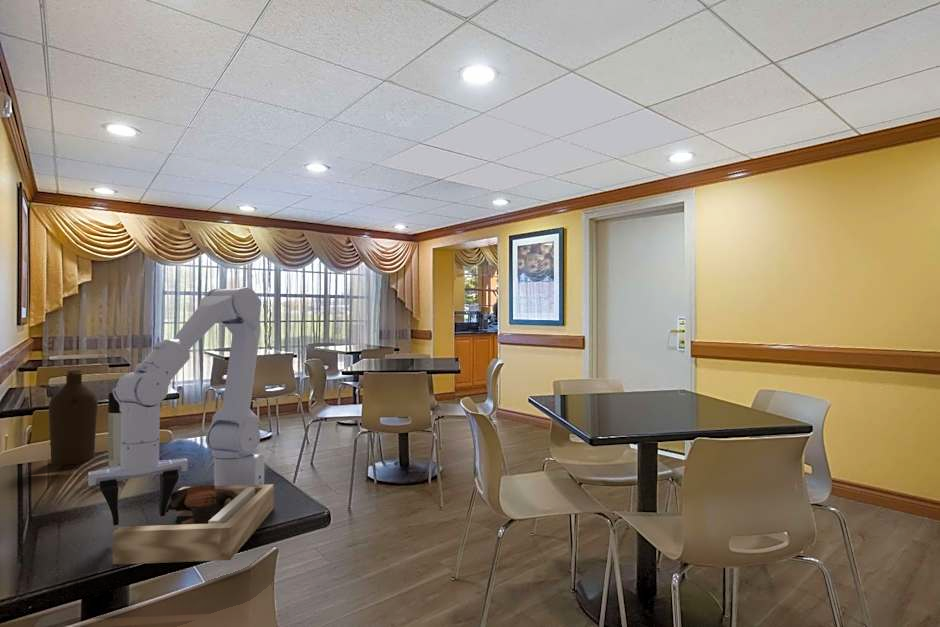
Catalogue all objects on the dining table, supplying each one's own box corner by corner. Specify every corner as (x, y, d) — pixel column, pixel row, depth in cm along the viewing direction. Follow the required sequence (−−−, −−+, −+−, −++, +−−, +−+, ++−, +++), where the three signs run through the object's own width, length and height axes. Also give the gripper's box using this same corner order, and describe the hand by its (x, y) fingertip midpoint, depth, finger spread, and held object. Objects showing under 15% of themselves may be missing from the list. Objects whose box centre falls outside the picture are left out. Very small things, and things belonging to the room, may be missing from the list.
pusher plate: (255, 512, 99) (255, 486, 99) (218, 552, 82) (218, 520, 82) (247, 513, 99) (247, 487, 99) (208, 552, 82) (208, 520, 82)
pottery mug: (162, 541, 86) (159, 492, 90) (176, 546, 94) (173, 501, 98) (239, 518, 91) (233, 473, 94) (246, 526, 99) (240, 483, 102)
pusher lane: (273, 509, 102) (273, 484, 102) (230, 560, 80) (230, 527, 80) (182, 512, 101) (182, 486, 101) (112, 564, 79) (113, 531, 79)
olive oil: (106, 458, 143) (107, 368, 144) (65, 468, 133) (66, 371, 134) (80, 454, 147) (81, 367, 147) (38, 464, 137) (39, 370, 137)
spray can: (127, 473, 128) (128, 393, 128) (101, 473, 128) (101, 393, 129) (145, 465, 135) (145, 389, 135) (119, 466, 135) (120, 389, 135)
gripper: (183, 431, 97) (182, 503, 97) (88, 442, 89) (87, 521, 88) (189, 437, 92) (189, 514, 92) (89, 450, 83) (88, 534, 83)
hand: (139, 518), depth 90 cm, fingers open, 6 cm apart
